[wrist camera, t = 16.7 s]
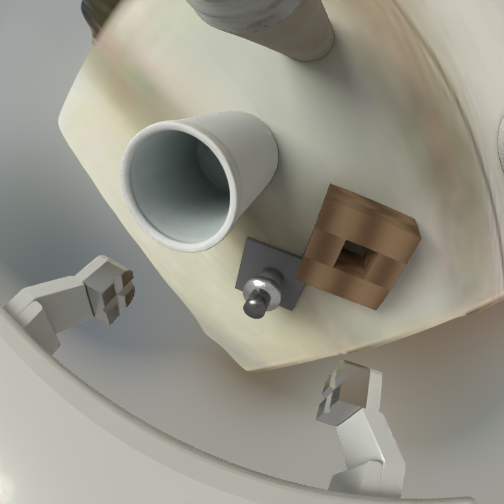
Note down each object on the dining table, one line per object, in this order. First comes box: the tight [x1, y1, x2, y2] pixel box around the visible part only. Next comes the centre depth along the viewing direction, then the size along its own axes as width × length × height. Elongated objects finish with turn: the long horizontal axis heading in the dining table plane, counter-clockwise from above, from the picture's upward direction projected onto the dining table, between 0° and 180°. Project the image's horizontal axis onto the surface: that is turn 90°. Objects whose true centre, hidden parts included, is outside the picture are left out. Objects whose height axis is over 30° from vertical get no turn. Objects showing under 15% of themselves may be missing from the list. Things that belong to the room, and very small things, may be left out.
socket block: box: [295, 184, 421, 310], centre depth 40 cm, size 14×14×6 cm
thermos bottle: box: [186, 0, 334, 61], centre depth 18 cm, size 8×8×28 cm
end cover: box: [243, 267, 283, 319], centre depth 48 cm, size 6×6×9 cm
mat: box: [235, 237, 305, 311], centre depth 52 cm, size 12×12×1 cm
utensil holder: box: [120, 111, 278, 253], centre depth 35 cm, size 15×15×18 cm
